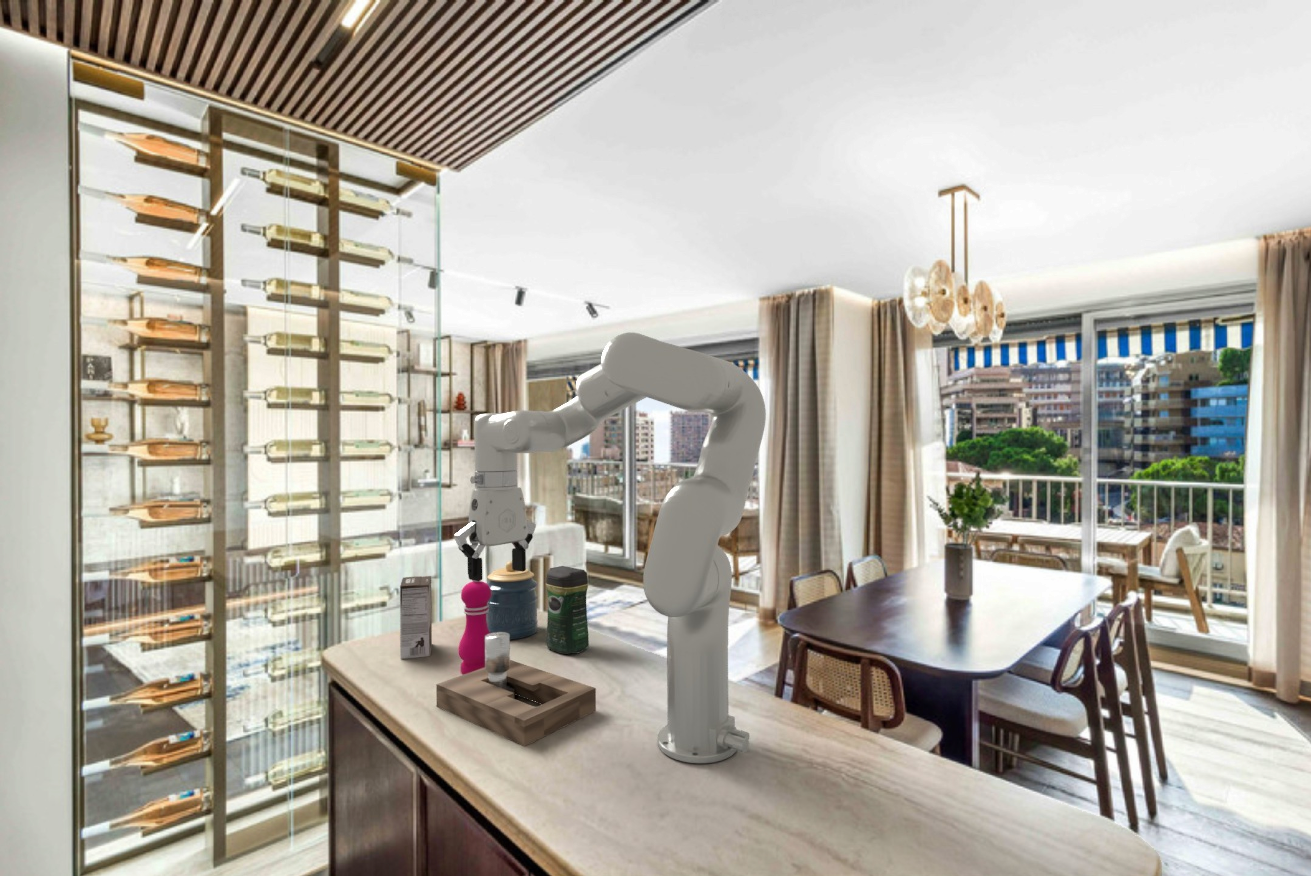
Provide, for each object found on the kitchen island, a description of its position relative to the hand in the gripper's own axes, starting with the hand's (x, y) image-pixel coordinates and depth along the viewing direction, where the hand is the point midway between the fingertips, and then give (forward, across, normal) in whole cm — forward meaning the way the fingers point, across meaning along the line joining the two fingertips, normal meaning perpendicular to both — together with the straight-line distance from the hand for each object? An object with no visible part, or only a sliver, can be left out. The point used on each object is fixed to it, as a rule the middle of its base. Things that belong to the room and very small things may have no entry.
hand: (497, 574), depth 114 cm
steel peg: (+23, 0, 0) cm, 23 cm away
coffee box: (+23, +6, +38) cm, 44 cm away
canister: (+23, +28, +32) cm, 48 cm away
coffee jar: (+23, +28, +12) cm, 38 cm away
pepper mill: (+23, +7, +16) cm, 29 cm away
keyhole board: (+23, 0, -4) cm, 24 cm away
